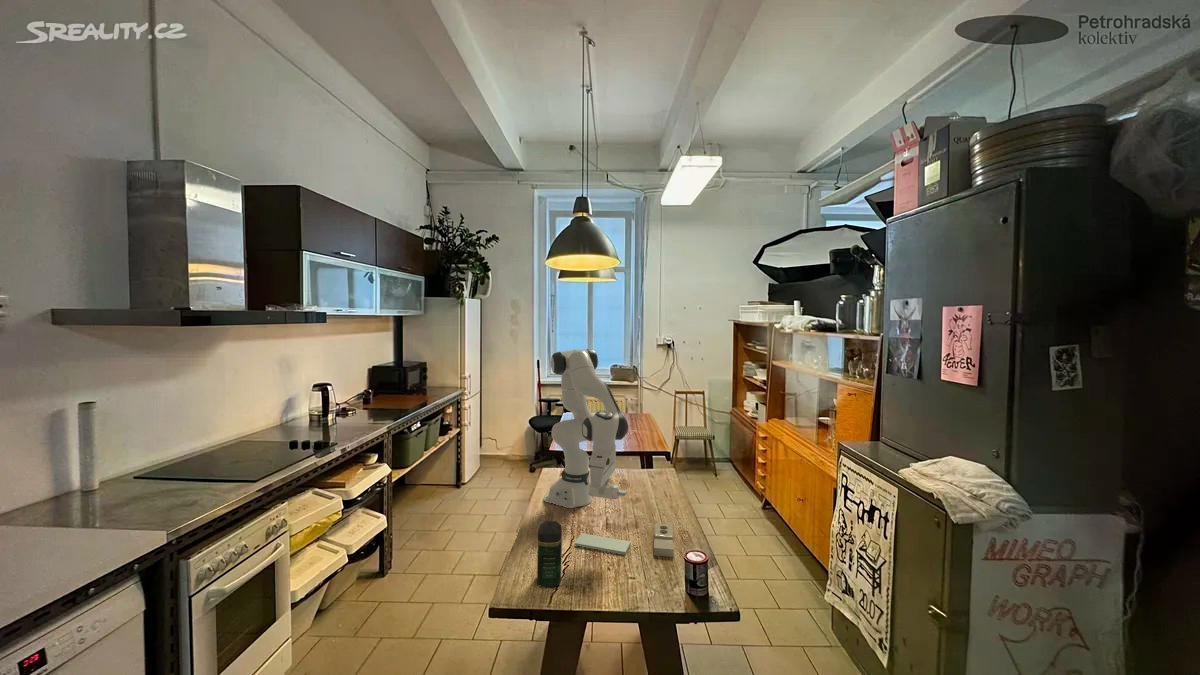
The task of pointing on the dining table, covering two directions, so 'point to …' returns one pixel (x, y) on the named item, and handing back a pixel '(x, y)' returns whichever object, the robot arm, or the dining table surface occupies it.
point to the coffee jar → (549, 554)
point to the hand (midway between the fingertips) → (603, 491)
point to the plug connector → (607, 491)
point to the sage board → (603, 543)
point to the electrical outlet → (663, 540)
